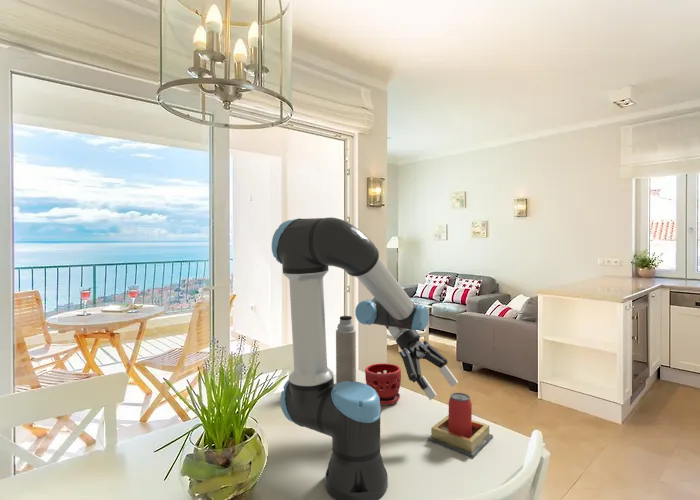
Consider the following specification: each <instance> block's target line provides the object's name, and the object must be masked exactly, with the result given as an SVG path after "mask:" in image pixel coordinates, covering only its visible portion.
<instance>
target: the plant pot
mask: <svg viewBox="0 0 700 500" xmlns="http://www.w3.org/2000/svg"><path fill="white" fill-rule="evenodd" d="M385 372H386V373H385ZM364 374H365V376H364V377H365V384H366V385H369V386H370V387H372V388H373V389H374V390H375V391H376V392H377V393H378V396H379V399H380V406H386V405H387V406H388V405H392V404H395V403H397V402H398V401H399V400H400V398H401V394H400V393H399V392H400V388H401V383H402V382H401V381H402V369H401V367H400V366H399V365H397V364H394V363H393V364H392V363H386V362H385V363H383V362H382V363H374V364H373V363H372V364H371V365H368V366H367V367H365V369H364Z"/></svg>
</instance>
